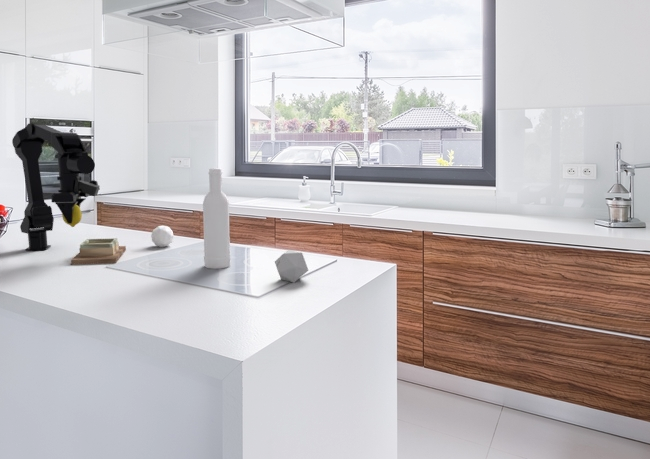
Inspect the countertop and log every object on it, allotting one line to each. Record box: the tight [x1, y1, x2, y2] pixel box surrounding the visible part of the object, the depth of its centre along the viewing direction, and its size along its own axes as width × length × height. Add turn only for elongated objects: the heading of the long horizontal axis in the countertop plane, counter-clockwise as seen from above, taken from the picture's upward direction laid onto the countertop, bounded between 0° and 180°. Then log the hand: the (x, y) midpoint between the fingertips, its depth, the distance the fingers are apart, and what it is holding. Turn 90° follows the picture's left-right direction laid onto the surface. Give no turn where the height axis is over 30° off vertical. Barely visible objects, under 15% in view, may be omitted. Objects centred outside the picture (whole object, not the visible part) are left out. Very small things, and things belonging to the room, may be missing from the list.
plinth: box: [70, 237, 127, 266], centre depth 171 cm, size 20×13×5 cm, turn 12°
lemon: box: [61, 205, 82, 228], centre depth 166 cm, size 6×6×8 cm
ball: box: [150, 225, 174, 248], centre depth 189 cm, size 8×8×8 cm
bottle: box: [202, 167, 231, 270], centre depth 158 cm, size 8×8×30 cm
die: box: [274, 249, 309, 283], centre depth 145 cm, size 8×9×10 cm
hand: (72, 222), depth 167 cm, fingers closed on lemon, 5 cm apart
